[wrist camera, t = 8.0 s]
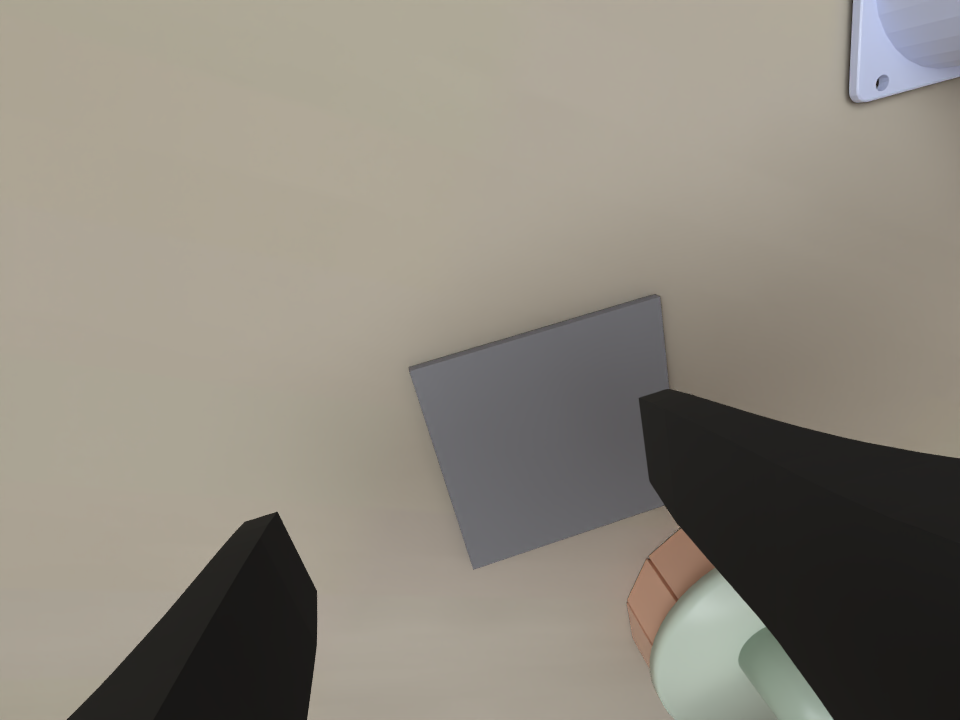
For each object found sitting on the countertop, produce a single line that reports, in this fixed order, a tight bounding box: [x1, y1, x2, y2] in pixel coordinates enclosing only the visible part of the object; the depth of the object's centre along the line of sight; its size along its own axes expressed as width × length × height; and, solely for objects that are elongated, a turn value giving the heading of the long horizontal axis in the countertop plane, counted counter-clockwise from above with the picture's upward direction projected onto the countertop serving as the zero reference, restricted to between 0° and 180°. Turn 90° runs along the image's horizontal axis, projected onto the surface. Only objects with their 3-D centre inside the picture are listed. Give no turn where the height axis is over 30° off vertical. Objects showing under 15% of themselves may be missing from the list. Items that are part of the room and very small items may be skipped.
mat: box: [409, 294, 669, 570], centre depth 22 cm, size 10×10×1 cm
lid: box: [650, 568, 833, 720], centre depth 22 cm, size 11×11×5 cm
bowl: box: [627, 529, 715, 669], centre depth 26 cm, size 10×10×3 cm
